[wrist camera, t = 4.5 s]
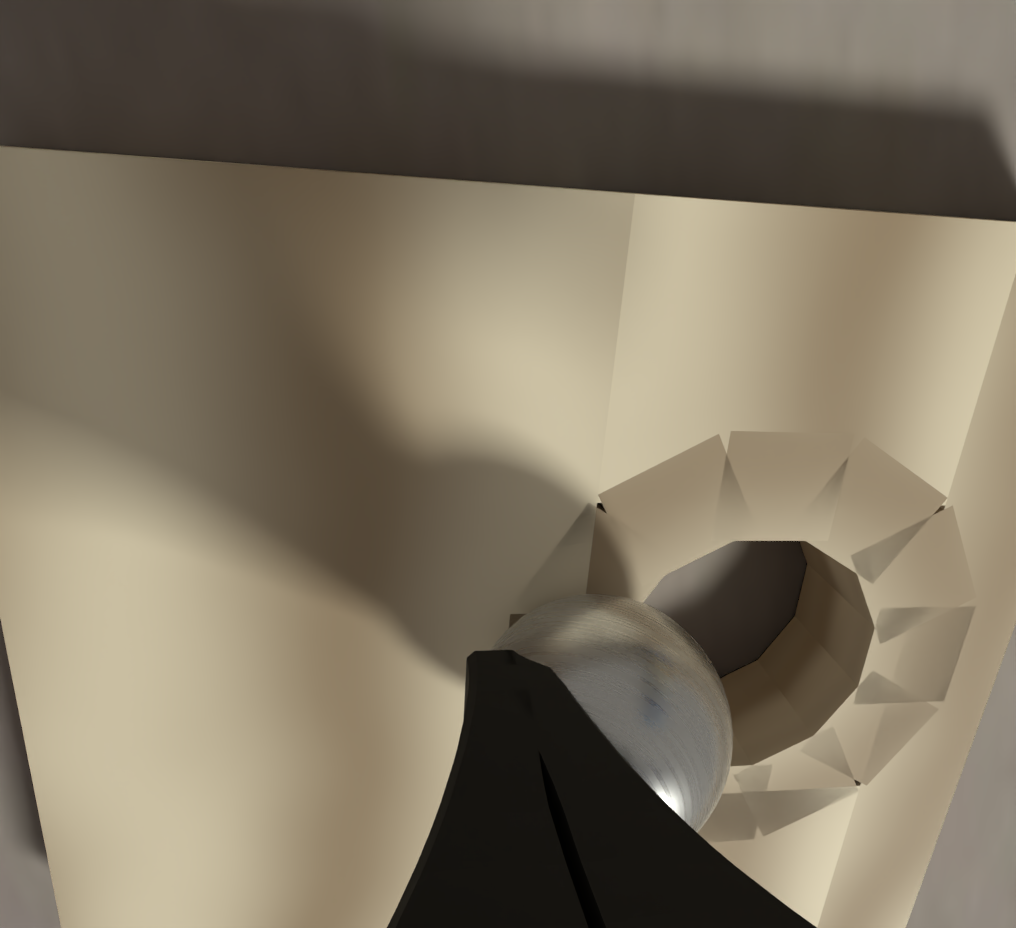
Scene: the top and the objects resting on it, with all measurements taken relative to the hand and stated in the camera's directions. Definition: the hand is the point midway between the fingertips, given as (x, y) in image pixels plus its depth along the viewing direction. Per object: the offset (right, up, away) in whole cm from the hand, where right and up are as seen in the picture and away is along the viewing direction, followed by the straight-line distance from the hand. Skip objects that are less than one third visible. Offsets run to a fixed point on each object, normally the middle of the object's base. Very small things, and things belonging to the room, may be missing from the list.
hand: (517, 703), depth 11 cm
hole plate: (0, +1, +4) cm, 5 cm away
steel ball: (+1, 0, 0) cm, 1 cm away
